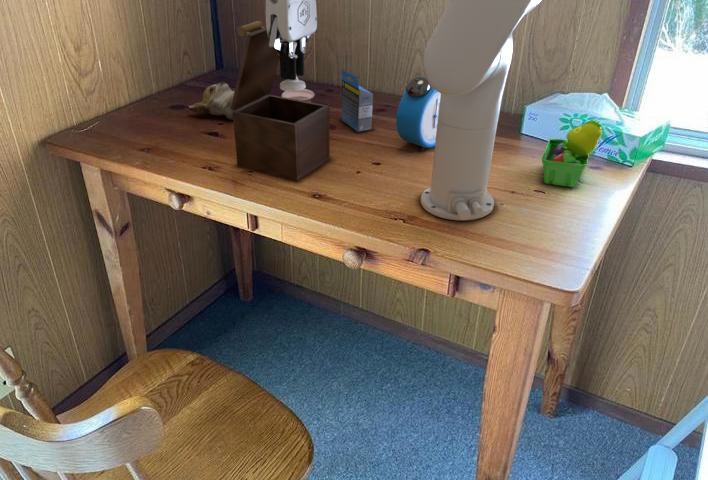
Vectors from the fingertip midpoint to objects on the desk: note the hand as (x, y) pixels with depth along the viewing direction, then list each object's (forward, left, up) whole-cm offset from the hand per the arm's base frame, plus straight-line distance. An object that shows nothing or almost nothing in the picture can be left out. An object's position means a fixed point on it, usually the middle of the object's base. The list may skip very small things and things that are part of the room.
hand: (292, 76), depth 114 cm
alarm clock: (+8, -28, -18) cm, 34 cm away
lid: (+4, +6, +1) cm, 7 cm away
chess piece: (0, 0, -2) cm, 2 cm away
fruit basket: (-11, -51, -18) cm, 55 cm away
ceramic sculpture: (+32, +17, -18) cm, 41 cm away
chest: (+2, +2, -18) cm, 18 cm away
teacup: (+26, -2, -18) cm, 32 cm away
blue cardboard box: (+21, -15, -18) cm, 32 cm away
